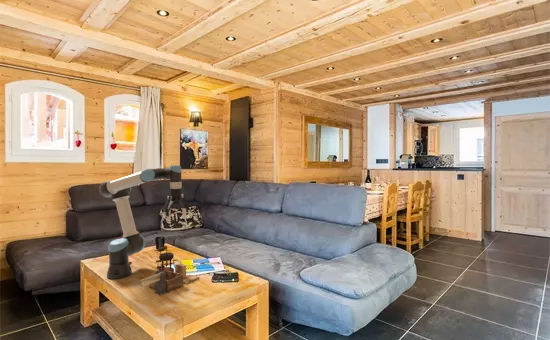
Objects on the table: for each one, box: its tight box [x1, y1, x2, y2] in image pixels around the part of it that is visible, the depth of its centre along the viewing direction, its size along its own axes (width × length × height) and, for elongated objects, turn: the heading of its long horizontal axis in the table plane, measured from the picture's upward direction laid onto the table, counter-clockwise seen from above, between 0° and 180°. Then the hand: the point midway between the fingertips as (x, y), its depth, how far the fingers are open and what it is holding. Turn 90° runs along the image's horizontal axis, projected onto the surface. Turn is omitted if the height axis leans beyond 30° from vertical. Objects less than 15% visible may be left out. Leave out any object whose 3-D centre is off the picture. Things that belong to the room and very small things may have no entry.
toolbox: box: [148, 269, 184, 296], centre depth 188 cm, size 16×16×12 cm
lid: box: [174, 262, 200, 285], centre depth 202 cm, size 16×11×9 cm
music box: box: [153, 245, 177, 272], centre depth 210 cm, size 15×11×20 cm
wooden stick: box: [139, 272, 162, 288], centre depth 176 cm, size 3×14×3 cm, turn 150°
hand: (176, 219), depth 212 cm, fingers open, 13 cm apart
